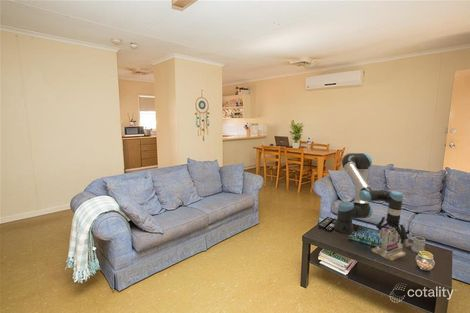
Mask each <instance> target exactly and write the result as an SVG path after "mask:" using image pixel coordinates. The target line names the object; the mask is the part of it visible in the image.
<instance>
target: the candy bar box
mask: <svg viewBox="0 0 470 313" xmlns="http://www.w3.org/2000/svg"><path fill="white" fill-rule="evenodd" d="M382 229H383V234H382V238H381V244H380V245H381V249H383V250H385V251H387V252H388V251H391V250H393V249H396V248H397V245H398V244H399V240H398V239H399V234H398V232H397V231H396V229H395V228H393V227H390V226H388V227H385V228H382Z"/></svg>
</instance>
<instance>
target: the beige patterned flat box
mask: <svg viewBox="0 0 470 313" xmlns="http://www.w3.org/2000/svg"><path fill="white" fill-rule="evenodd" d="M398 246H399V244H397V248H396V249H393V250H391V251H388V252H387V251H385V250H383V249H381V244H379V245H376V246H375V247H373V248H371V252H373V253H375V254H377V255H379V256H381V257H382V258H384V259H387V261H388V260H389V262H390V261H391V262H393V261H396V260H398V259H399V258H403V257H405V256H406V255H407V253H406V252H405V251H403V248H404V247H403V246H402V247H401V248H398Z"/></svg>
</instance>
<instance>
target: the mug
mask: <svg viewBox="0 0 470 313" xmlns="http://www.w3.org/2000/svg"><path fill="white" fill-rule="evenodd" d="M407 237H408V239H406V240H405V239H404V244H405V246H406V247H411V251H412V252H413V253H416V254H419V253H418V252H419V251H425V246H426V239H425V238H424V237H421V236H418V235H415V236H412V233H411V232H409V233H408V234H407ZM410 239H413V240H412V242H411V243H410V242H409V240H410Z"/></svg>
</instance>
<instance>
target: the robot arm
mask: <svg viewBox="0 0 470 313" xmlns="http://www.w3.org/2000/svg"><path fill="white" fill-rule="evenodd" d="M372 163H373V162H372V157H371V155H369V154H368V153H365V152H364V153H363V152H362V153H360V152H359V153H357V152H355V153H353V152H352V153H351V152H350V153H347V154H345V155H344V156H343V157H342V159H341V165H342V168H343V170H344V171H346V172H347V174H348V175H349V177H350V179H351V180H352V181H353V183H354V190H355V191H354V195H355V196H354V198H355V199H354V200H353V202H351V201H341V202H340V203H338V206H337V216H336V221H335V223H334V225H333V229H334V230H335V231H336V232H338V233H340V234H347V235H350V234H353V233H354V230H355V229H354V225H353V220H354V219H369V218H370V217H371V216H372V214H373V206H372V205H371V204H370V202H385V203H388V206H387V214H386V216H382V217H381V220H380V221H379V222H378V223H377V225H376V226H375V228H377V229H378V231H377V233H378V239H381V240H382V234H383V229H385V228H387V227H393V228H395V229H396V231H397V232H398V234H399V235H398V237H399V238H398V239H399V240H398V245H399V246H398V248H401V247H403V244H405V240H406V239H408V234H407V231H406V228H405V224H404V223H400V220H401V215H402V207H403V206H402V205H403V201H404V193H402V192H401V191H398V190H397V191H396V190H392V191H390V190H387V189H385V188H379V189H377V190H376V189H375V190H373V189H372V188H371V187H370V186H369V184H368V182H367V178H368V177H367V172H368V171H369V168H370V167H372ZM385 222H386V223H385ZM384 223H385V224H384ZM352 232H353V233H352Z"/></svg>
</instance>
